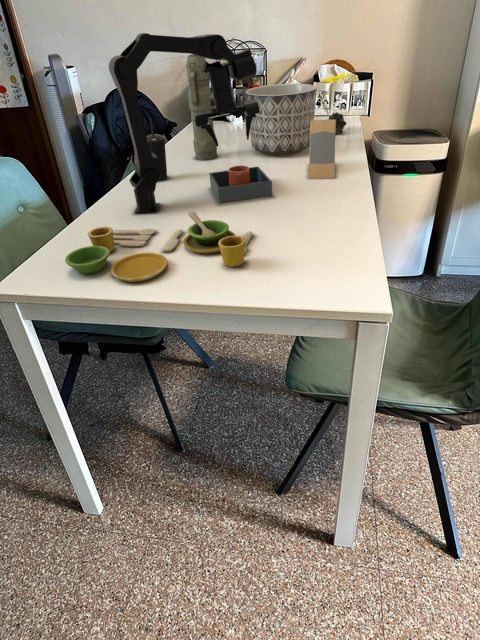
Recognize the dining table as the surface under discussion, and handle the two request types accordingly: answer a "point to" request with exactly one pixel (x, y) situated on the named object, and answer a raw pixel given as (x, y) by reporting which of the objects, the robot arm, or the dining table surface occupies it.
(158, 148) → the drinking cup
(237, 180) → the coffee cup
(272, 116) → the planter
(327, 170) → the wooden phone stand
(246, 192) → the tote
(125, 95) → the robot arm
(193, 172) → the dining table surface
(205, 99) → the thermos
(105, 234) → the tableware set
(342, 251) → the dining table surface
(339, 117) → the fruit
